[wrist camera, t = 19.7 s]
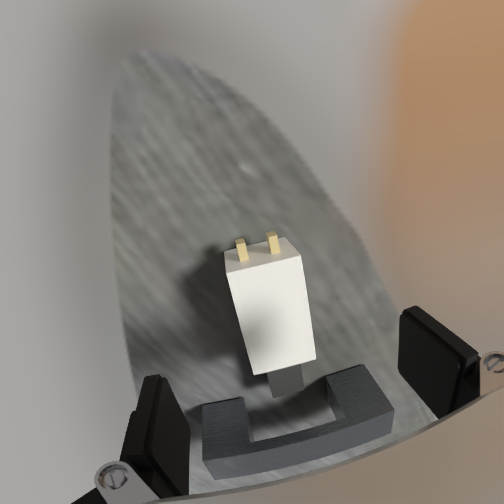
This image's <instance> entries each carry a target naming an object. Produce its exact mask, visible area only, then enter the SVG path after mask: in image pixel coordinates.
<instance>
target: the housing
mask: <svg viewBox="0 0 504 504" xmlns="http://www.w3.org/2000/svg"><path fill="white" fill-rule="evenodd" d="M326 387H327V398H328V402H329V404H330V406H331V408H332V411H333V413H334V415H335V417H336V419H337V420H336V421H333V422H330V423H326V424H323V425H320V426H316V427H313V428H309V429H306V430H302V431H298V432H295V433H291V434H287V435H283V436H279V437H274V438H270V439H265V440H261V441H256V442H254V436H253V430H252V424H251V419H250V416H249V413H248V410H247V407H246V404H245V401H244V398H239V399H234V400H229V401H224V402H218V403H212V404H207V405H202V461H203V462H204V464H205V466H206V467H207V469H208V470H209V472H210V474H211V475H212V477H213V478H214V480H218V479H226V478H233V477H239V476H245V475H251V474H256V473H261V472H266V471H271V470H276V469H280V468H285V467H289V466H293V465H297V464H301V463H305V462H308V461H312V460H315V459H319V458H322V457H326V456H329V455H332V454H335V453H338V452H341V451H344V450H347V449H350V448H353V447H356V446H359V445H361V444H364V443H367V442H369V441H372V440H375V439H377V438H380V437H382V436H385V435H387V434H389V433H391V429H392V423H393V417H394V408H393V407H392V405H391V404H390V402H389V401H388V399H387V398H386V396H385V395H384V393H383V392H382V390H381V389H380V387H379V386H378V384H377V383H376V381H375V380H374V378H373V377H372V375H371V374H370V373H369V371H368V370H367V368H366V367H365V365H364V364H363V365H360V366H357V367H354V368H351V369H348V370H345V371H342V372H339V373H336V374H332V375H329V376H326Z"/></svg>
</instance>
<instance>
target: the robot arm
mask: <svg viewBox="0 0 504 504" xmlns="http://www.w3.org/2000/svg"><path fill="white" fill-rule="evenodd" d="M398 370H399V373H400V374H401V375H402V377H403V378H404V379H405V380H406V381H407V382H408V384H409V385H410V386H411V387H412V388H413V389H414V391H415V392H416V393H417V394H418V395H419V396H420V398H421V399H422V400H423V401H424V402H425V404H426V405H427V406H428V407H429V408H430V410H431V411H432V412H433V413H434V414H435V416H436V417H437V418H438V419H439V420H437V421H435V422H433V423H431V424H429V425H427V426H425V427H423V428H421V429H419V430H417V431H415V432H413V433H411V434H409V435H407V436H405V437H402V438H400V439H398V440H396V441H393V442H391V443H389V444H387V445H384V446H382V447H379V448H377V449H374V450H372V451H369V452H367V453H364V454H362V455H359V456H356V457H354V458H351V459H348V460H345V461H342V462H339V463H336V464H333V465H330V466H327V467H324V468H321V469H317V470H314V471H310V472H307V473H303V474H300V475H296V476H292V477H288V478H284V479H280V480H276V481H271V482H267V483H262V484H257V485H252V486H247V487H241V488H235V489H229V490H223V491H216V492H209V493H201V494H192V495H189V452H190V428H189V424H188V422H187V420H186V418H185V416H184V414H183V412H182V410H181V408H180V406H179V404H178V402H177V400H176V398H175V396H174V394H173V392H172V389H171V387H170V385H169V383H168V381H167V379H166V378H165V377H163V378H162V377H161V376H160V375H159V374H158V375H151V376H146V377H145V378H144V381H143V385H142V388H141V392H140V396H139V400H138V404H137V408H136V411H133V412H132V413H131V415H130V419H129V423H128V427H127V431H126V435H125V439H124V443H123V447H122V451H121V456H120V460H119V461H112V462H109V463H106V464H104V465H103V466H102V467H100V468H99V470H98V471H97V472H96V475H95V485H96V488H94V489H93V490H91V491H90V492H88V493H87V494H85V495H84V496H82V497H81V498H79V499H78V500H76V501H75V502H73V503H71V504H504V353H503V352H499V351H493V352H489V353H486V354H485V355H484V356H482V358H481V357H479V356H478V352H477V351H476V350H474V349H473V348H472V347H471V346H469V345H468V344H467V343H466V342H464V341H463V340H462V339H461V338H459V337H458V336H457V335H455V334H454V333H453V332H451V331H450V330H449V329H448V328H446V327H445V326H444V325H442V324H441V323H439V322H438V321H437V320H435V319H434V318H433V317H432V316H430V315H429V314H428V313H426V312H425V311H424V310H422V309H421V308H420V307H418V306H413V307H410V308H407V309H405V310H404V311H403V312H402V314H401V315H400V322H399V353H398Z"/></svg>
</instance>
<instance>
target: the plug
mask: <svg viewBox="0 0 504 504" xmlns="http://www.w3.org/2000/svg"><path fill="white" fill-rule="evenodd" d="M266 238H267V241H265V242H261V243H257V244H252V245H248V246H246V244H245V241H244V238H242V239H238V240H235V242H236V246H237V248H236V249H231V250H227V251H224V257H225V267H226V274H227V278H228V282H229V286H230V290H231V294H232V297H233V301H234V305H235V309H236V312H237V316H238V320H239V324H240V327H241V331H242V335H243V338H244V342H245V345H246V349H247V353H248V356H249V360H250V363H251V367H252V370H253V374H254V375H257V374H262V373H267V377H268V381H269V385H270V388H271V392H272V396H273V398H276V397H280V396H284V395H288V394H292V393H295V392H299V391H303V390H305V389H304V383H303V377H302V370H301V364H300V363H304V362H308V361H311V360H315V359H316V354H315V347H314V339H313V332H312V325H311V318H310V311H309V304H308V297H307V291H306V284H305V278H304V272H303V266H302V260H301V255H300V254H299V253H298V252H297V250H296V249H295V248H294V247H293V246H292V245H291V244H290V242H289V241H288V240H287V239H286V238H285V237H282V238H278V237H277V234H276V233H275V232H274V231H272V232H267V233H266Z"/></svg>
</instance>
